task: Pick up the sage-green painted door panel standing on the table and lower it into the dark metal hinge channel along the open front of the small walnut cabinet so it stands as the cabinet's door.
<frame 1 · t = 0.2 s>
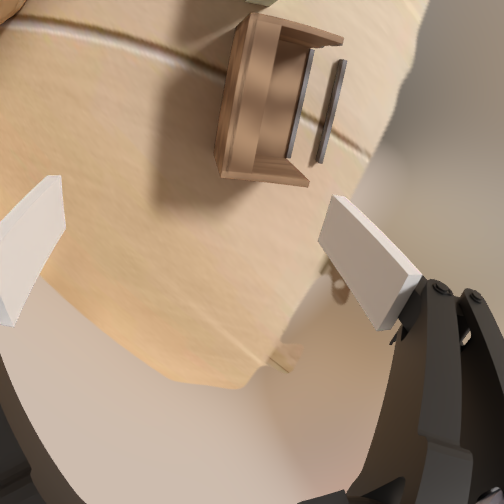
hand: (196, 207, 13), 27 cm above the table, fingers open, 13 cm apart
cabinet: (261, 95, 35), on the table
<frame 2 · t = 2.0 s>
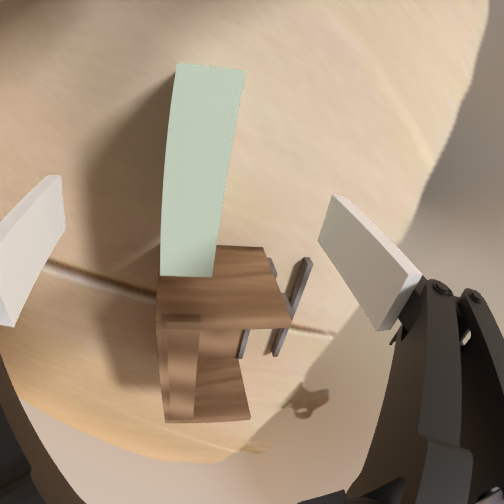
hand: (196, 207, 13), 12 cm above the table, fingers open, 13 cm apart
cabinet: (204, 311, 34), on the table
door: (192, 139, 23), on the table
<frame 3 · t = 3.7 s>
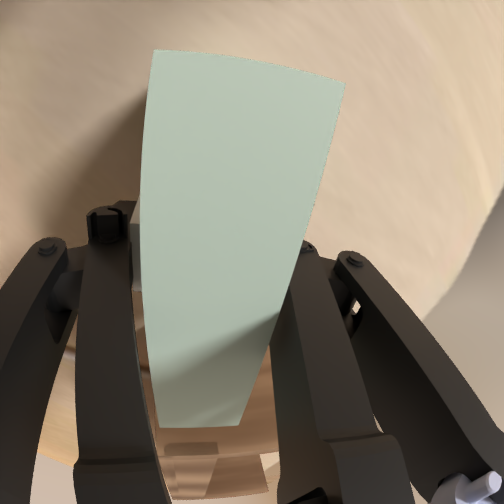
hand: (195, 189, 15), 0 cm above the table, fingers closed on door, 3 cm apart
cabinet: (214, 384, 26), on the table
door: (195, 183, 15), on the table, touching gripper
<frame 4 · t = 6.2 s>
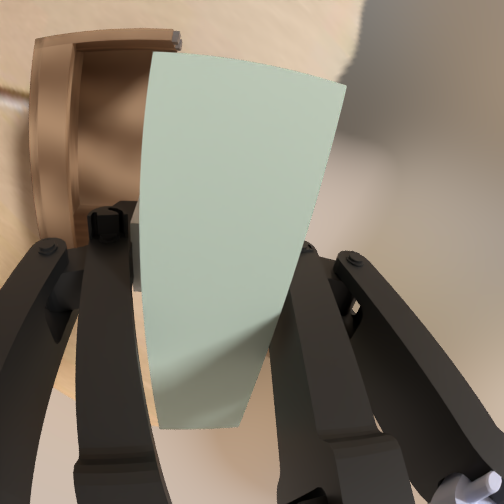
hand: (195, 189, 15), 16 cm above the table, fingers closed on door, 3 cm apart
cabinet: (117, 129, 26), on the table
door: (195, 184, 15), point 15 cm above the table, touching gripper
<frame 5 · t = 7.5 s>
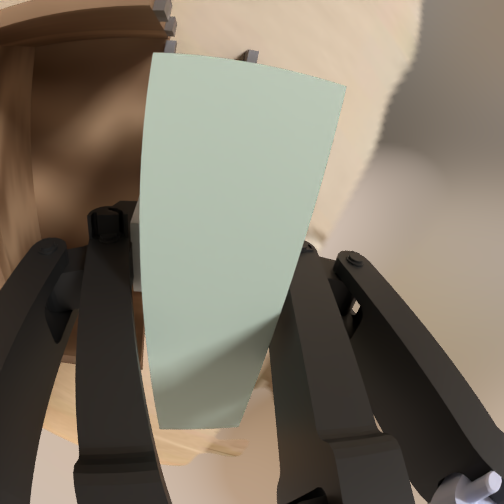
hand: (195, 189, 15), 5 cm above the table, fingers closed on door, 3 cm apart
cabinet: (85, 156, 17), on the table
door: (195, 184, 15), point 5 cm above the table, touching gripper
when the fingers open (2 cm above the table, at t = 8.4 s): door drops 2 cm, on the table.
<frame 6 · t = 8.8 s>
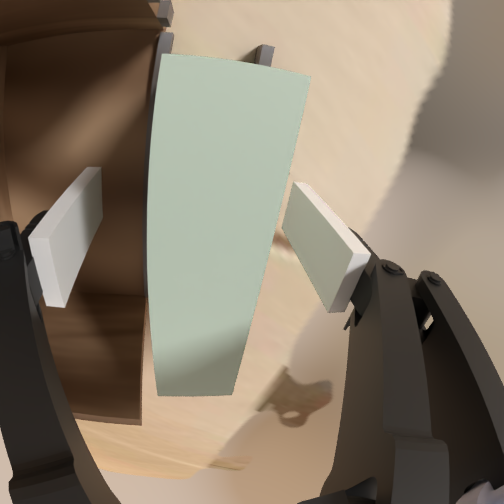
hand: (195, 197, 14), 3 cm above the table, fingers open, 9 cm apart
cabinet: (67, 174, 14), on the table
door: (194, 174, 16), on the table
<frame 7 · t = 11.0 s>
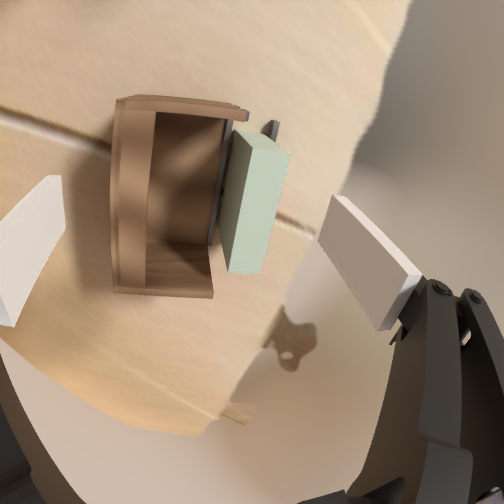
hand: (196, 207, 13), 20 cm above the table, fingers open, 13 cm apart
cabinet: (173, 176, 32), on the table
door: (239, 180, 34), on the table
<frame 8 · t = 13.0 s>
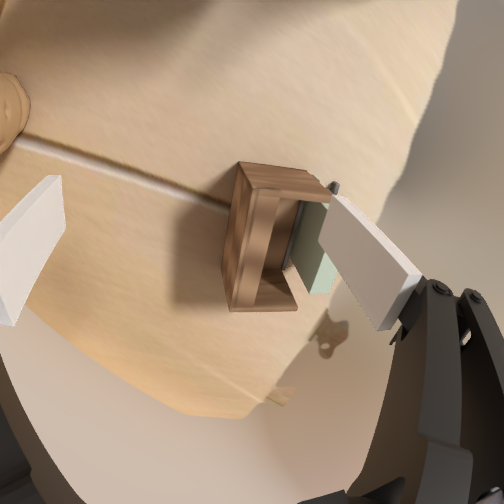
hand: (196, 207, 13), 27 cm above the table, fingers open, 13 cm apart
cabinet: (261, 221, 45), on the table
door: (307, 224, 47), on the table
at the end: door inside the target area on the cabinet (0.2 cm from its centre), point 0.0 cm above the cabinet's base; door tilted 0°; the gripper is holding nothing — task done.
